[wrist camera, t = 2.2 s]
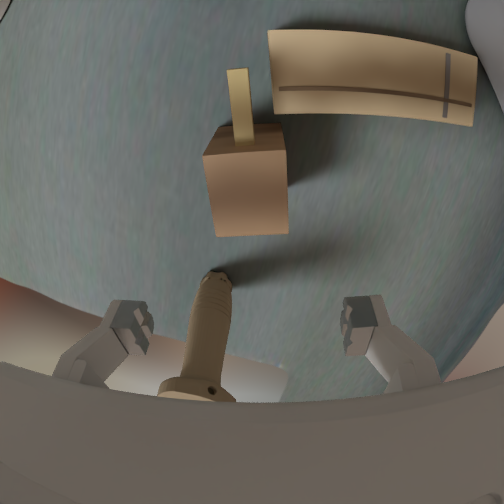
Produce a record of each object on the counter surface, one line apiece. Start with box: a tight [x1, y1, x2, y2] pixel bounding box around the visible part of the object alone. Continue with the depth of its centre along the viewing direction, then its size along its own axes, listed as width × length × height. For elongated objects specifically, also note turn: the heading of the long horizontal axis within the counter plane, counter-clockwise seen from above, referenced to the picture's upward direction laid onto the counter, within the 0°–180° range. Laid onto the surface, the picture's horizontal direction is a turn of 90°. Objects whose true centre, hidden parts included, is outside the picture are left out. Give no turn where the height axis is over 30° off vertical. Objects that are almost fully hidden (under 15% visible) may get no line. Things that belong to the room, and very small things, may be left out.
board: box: [267, 30, 478, 127], centre depth 18 cm, size 6×16×4 cm, turn 95°
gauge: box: [202, 67, 289, 237], centre depth 20 cm, size 11×5×7 cm, turn 5°
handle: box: [157, 271, 236, 402], centre depth 27 cm, size 5×6×15 cm
